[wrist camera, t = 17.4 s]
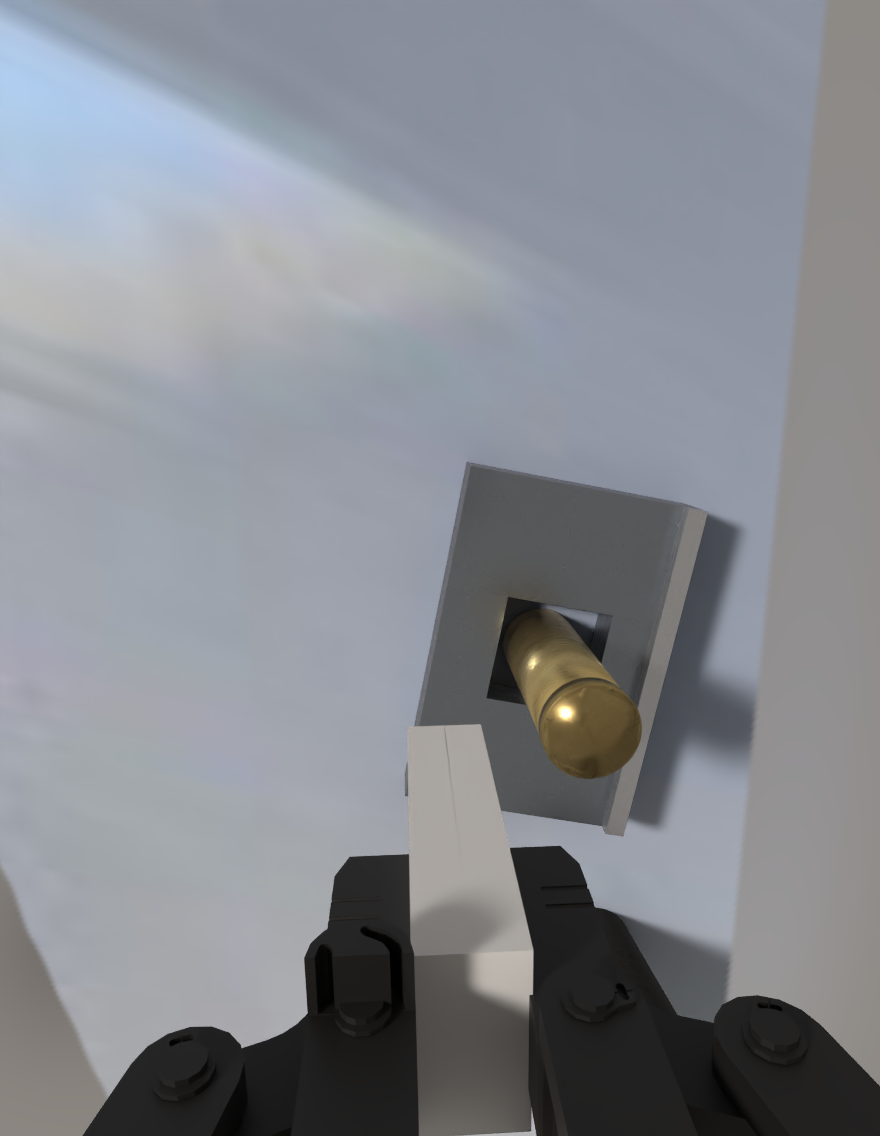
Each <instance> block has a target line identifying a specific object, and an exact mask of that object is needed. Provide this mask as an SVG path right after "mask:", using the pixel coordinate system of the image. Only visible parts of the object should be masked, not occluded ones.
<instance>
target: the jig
mask: <svg viewBox="0 0 880 1136" xmlns="http://www.w3.org/2000/svg"><path fill="white" fill-rule="evenodd" d="M707 515H708V512H706V511H703V510H701V509H698V508H695V507H692V506H689V505H687V504H683V503H678V502H673V501H667V500H662V499H657V498H652V497H647V496H641V495H636V494H631V493H626V492H620V491H615V490H610V489H605V488H600V487H594V486H589V485H584V484H579V483H574V482H568V481H563V480H558V479H553V478H547V477H542V476H537V475H532V474H527V473H521V472H516V471H511V470H506V469H500V468H495V467H490V466H485V465H480V464H474V463H469V462H467V464H466V469H465V474H464V479H463V484H462V489H461V494H460V499H459V504H458V509H457V514H456V519H455V525H454V530H453V535H452V540H451V545H450V550H449V555H448V560H447V565H446V570H445V575H444V580H443V585H442V590H441V595H440V600H439V605H438V610H437V615H436V620H435V625H434V630H433V635H432V640H431V646H430V651H429V656H428V661H427V666H426V671H425V676H424V681H423V686H422V691H421V696H420V701H419V706H418V711H417V716H416V721H415V726H444V725H473V724H481V727H482V732H483V736H484V740H485V744H486V749H487V753H488V757H489V762H490V766H491V770H492V775H493V779H494V783H495V787H496V792H497V796H498V800H499V805H500V809H501V811H507V812H514V813H520V814H527V815H533V816H540V817H546V818H553V819H559V820H566V821H573V822H579V823H586V824H592V825H599V826H602V827H603V830H604V832H605V834H610V835H617V836H624V832H625V828H626V824H627V820H628V816H629V813H630V809H631V805H632V801H633V797H634V794H635V790H636V786H637V782H638V778H639V774H640V771H641V767H642V763H643V759H644V755H645V751H646V748H647V744H648V740H649V736H650V732H651V729H652V725H653V721H654V717H655V713H656V709H657V706H658V702H659V698H660V694H661V690H662V687H663V683H664V679H665V675H666V671H667V667H668V664H669V660H670V656H671V652H672V648H673V645H674V641H675V637H676V633H677V629H678V625H679V622H680V618H681V614H682V610H683V606H684V603H685V599H686V595H687V591H688V587H689V583H690V580H691V576H692V572H693V568H694V564H695V560H696V557H697V553H698V549H699V545H700V541H701V538H702V534H703V530H704V526H705V522H706V518H707ZM508 597H512V598H518V599H523V600H529V601H535V602H540V603H546V604H551V605H557V606H563V607H568V608H574V609H580V610H585V611H591V612H597V613H599V614H598V618H597V623H596V627H595V631H594V635H593V639H592V643H591V648H590V650H591V651H592V653H593V654H594V655H595V657H596V658H597V659H598V660H599V662H600V663H601V664H602V665H603V667H604V668H605V669H606V670H607V672H608V673H609V674H610V676H611V677H612V678H613V679H614V681H615V682H616V683H617V684H618V686H619V687H620V688H621V689H622V690H623V691H624V692H625V693H626V694H627V695H628V696H629V698H630V699H631V700H632V701H633V703H634V704H635V706H636V707H637V709H638V711H639V714H640V717H641V722H642V735H641V740H640V743H639V746H638V748H637V750H636V752H635V754H634V755H633V757H632V758H631V759H630V760H629V761H628V763H626V764H625V765H624V766H623V767H622V768H620V769H619V770H618V771H616V772H614V773H612V774H610V775H607V776H604V777H601V778H594V779H583V778H577V777H573V776H571V775H568V774H566V773H564V772H563V771H561V770H560V769H558V768H557V767H556V766H555V765H554V764H553V763H552V762H551V760H550V759H549V757H548V756H547V754H546V752H545V749H544V747H543V745H542V742H541V740H540V736H539V733H538V730H537V728H536V726H535V723H534V721H533V719H532V716H531V714H530V712H529V710H528V707H527V705H526V703H525V700H524V698H523V696H522V693H521V691H520V689H519V688H515V687H509V686H503V685H497V684H491V683H490V679H491V674H492V669H493V665H494V660H495V655H496V651H497V646H498V642H499V637H500V632H501V628H502V623H503V618H504V614H505V609H506V604H507V600H508ZM415 726H414V727H415ZM405 796H408V761H407V767H406V772H405Z"/></svg>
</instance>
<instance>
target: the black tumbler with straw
mask: <svg viewBox="0 0 880 1136" xmlns="http://www.w3.org/2000/svg"><path fill="white" fill-rule="evenodd" d="M596 910H597V913H598V916H599V918H600V921H601V924H602V926H603V929H604V932H605V934H606V937H607V940H608V943H609V945H610V948H611V951H612V953H613V956H614V959H615V961H616V964H617V967H618V970H619V972H620V973H621V974H623V975H624V976H625V977H627V978H628V979H629V980H631V981H632V982H633V983H635V985H636V987H637V988H638V990H639V991H640V993H641V994H642V996H643V997H644V999H645V1001H646V1002H647V1003H648V1004H650V1005H652V1006H654V1007H656V1008H658V1009H661V1010H663V1011H665V1012H669V1013H672V1014H675V1015H677V1014H676V1012H675V1010H674V1008H673V1007H672V1005H671V1003H670V1002H669V1000H668V998H667V996H666V995H665V993H664V991H663V990H662V988H661V986H660V984H659V983H658V981H657V979H656V978H655V976H654V974H653V972H652V971H651V969H650V967H649V966H648V964H647V962H646V960H645V959H644V957H643V955H642V954H641V952H640V950H639V948H638V947H637V945H636V943H635V942H634V940H633V938H632V936H631V935H630V933H629V931H628V930H627V928H626V926H625V924H624V923H623V922H622V920H621V919H620V918H619V917H617V916H616V915H615V914H613V913H611V912H609V911H606V910H603V909H598V908H596Z"/></svg>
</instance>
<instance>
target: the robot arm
mask: <svg viewBox="0 0 880 1136" xmlns="http://www.w3.org/2000/svg"><path fill="white" fill-rule="evenodd" d="M407 749H408V812H409V854H406V855H382V856H358V857H349V859H348V860H347V861H346V863H345V864H344V865H343V866H342V868H341V869H340V870H339V872H338V873H337V874H336V875H335V878H334V886H333V893H332V903H331V908H330V915H329V922H328V929H327V930H325V931H324V932H323V933H321V934H320V935H319V936H318V937H317V938H316V939H315V940H314V941H313V942H312V943H311V944H310V946H309V949H308V951H307V953H306V955H305V958H304V961H305V977H306V992H307V1008H308V1014H307V1015H306V1016H305V1017H304V1018H303V1019H302V1020H301V1021H300V1022H299V1023H298V1024H297V1025H295V1026H294V1027H292V1028H290V1029H289V1030H287V1031H286V1032H284V1033H283V1034H280V1035H278V1036H276V1037H273V1038H271V1039H269V1040H266V1041H263V1042H260V1043H257V1044H254V1045H251V1046H248V1047H245V1048H242V1049H241V1045H240V1044H239V1043H238V1042H237V1041H236V1039H235V1038H234V1037H233V1036H232V1035H231V1034H230V1033H228V1032H225V1031H223V1030H220V1029H217V1028H214V1027H189V1028H186V1029H182V1030H179V1031H176V1032H173V1033H169V1034H167V1035H165V1036H164V1037H162V1038H161V1039H159V1040H157V1041H156V1042H154V1043H153V1044H151V1045H149V1046H148V1047H147V1048H146V1049H145V1050H144V1051H143V1052H142V1053H141V1054H140V1055H139V1056H138V1057H137V1058H136V1059H135V1061H134V1062H133V1063H132V1064H131V1065H130V1067H129V1068H128V1070H127V1071H126V1073H125V1074H124V1076H123V1077H122V1078H121V1080H120V1081H119V1083H118V1084H117V1086H116V1087H115V1089H114V1090H113V1092H112V1093H111V1095H110V1096H109V1098H108V1099H107V1101H106V1102H105V1103H104V1105H103V1106H102V1108H101V1109H100V1111H99V1112H98V1114H97V1115H96V1117H95V1118H94V1120H93V1121H92V1123H91V1124H90V1126H89V1127H88V1129H87V1130H86V1131H85V1133H84V1135H83V1136H458V1135H475V1134H493V1133H510V1132H528V1131H531V1107H532V1112H533V1118H534V1123H535V1129H536V1134H537V1136H880V1086H879V1085H878V1084H877V1083H876V1082H875V1081H874V1080H873V1079H872V1078H871V1077H870V1076H869V1075H868V1073H867V1072H866V1071H865V1070H864V1069H863V1068H862V1067H861V1066H860V1065H859V1064H858V1063H857V1062H856V1061H855V1060H854V1059H853V1058H852V1057H851V1056H850V1055H849V1054H848V1053H847V1052H846V1051H845V1050H844V1049H843V1048H842V1047H841V1046H840V1045H839V1044H838V1043H837V1042H836V1040H835V1039H834V1038H833V1037H832V1036H831V1035H830V1034H829V1033H828V1032H827V1031H826V1030H825V1029H824V1028H823V1027H822V1026H821V1025H820V1024H819V1023H818V1022H816V1021H815V1020H814V1019H812V1018H811V1017H810V1016H808V1015H807V1014H806V1013H805V1012H804V1011H802V1010H801V1009H798V1008H796V1007H794V1006H792V1005H790V1004H788V1003H785V1002H783V1001H781V1000H778V999H773V998H768V997H763V996H758V995H757V996H745V997H737V998H735V999H733V1000H731V1001H729V1002H727V1003H725V1004H723V1005H722V1006H721V1008H720V1010H719V1011H718V1013H717V1014H716V1016H715V1019H714V1023H711V1022H706V1021H701V1020H697V1019H692V1018H687V1017H682V1016H679V1015H675V1014H672V1013H669V1012H665V1011H663V1010H661V1009H658V1008H656V1007H654V1006H652V1005H650V1004H648V1003H647V1002H646V1001H645V999H644V997H643V996H642V994H641V993H640V991H639V990H638V988H637V987H636V985H635V983H633V982H632V981H631V980H629V979H628V978H627V977H625V976H624V975H623V974H621V973H620V972H619V970H618V967H617V964H616V961H615V959H614V956H613V953H612V951H611V948H610V945H609V943H608V940H607V937H606V934H605V932H604V929H603V926H602V924H601V921H600V918H599V916H598V913H597V910H596V908H595V907H594V902H593V899H592V897H591V894H590V891H589V889H587V883H586V881H585V878H584V875H583V872H582V870H581V867H580V864H579V863H578V862H577V861H576V860H575V859H574V858H573V857H572V856H571V855H569V854H568V853H567V852H566V851H565V850H564V849H563V848H562V847H561V846H545V847H521V848H509V843H508V839H507V835H506V830H505V826H504V822H503V817H502V813H501V809H500V805H499V800H498V796H497V792H496V787H495V783H494V779H493V775H492V770H491V766H490V762H489V757H488V753H487V749H486V744H485V740H484V736H483V732H482V727H481V724H473V725H444V726H415V727H407Z"/></svg>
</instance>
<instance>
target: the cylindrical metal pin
mask: <svg viewBox="0 0 880 1136" xmlns="http://www.w3.org/2000/svg"><path fill="white" fill-rule="evenodd" d="M503 649H504V654H505V657H506V659H507V661H508V664H509V666H510V668H511V670H512V673H513V675H514V677H515V680H516V682H517V684H518V687H519V689H520V691H521V693H522V696H523V698H524V700H525V703H526V705H527V707H528V710H529V712H530V714H531V716H532V719H533V721H534V723H535V726H536V728H537V730H538V733H539V736H540V740H541V742H542V745H543V747H544V749H545V752H546V754H547V756H548V757H549V759H550V760H551V762H552V763H553V764H554V765H555V766H556V767H557V768H558V769H560V770H561V771H563V772H564V773H566V774H568V775H571V776H573V777H577V778H583V779H594V778H601V777H604V776H607V775H610V774H612V773H614V772H616V771H618V770H619V769H620V768H622V767H623V766H624V765H625V764H626V763H628V761H629V760H630V759H631V758H632V757H633V755H634V754H635V752H636V750H637V748H638V746H639V743H640V740H641V735H642V722H641V717H640V714H639V711H638V709H637V707H636V706H635V704H634V703H633V701H632V700H631V699H630V698H629V696H628V695H627V694H626V693H625V692H624V691H623V690H622V689H621V688H620V687H619V686H618V684H617V683H616V682H615V681H614V679H613V678H612V677H611V676H610V674H609V673H608V672H607V670H606V669H605V668H604V667H603V665H602V664H601V663H600V662H599V660H598V659H597V658H596V657H595V655H594V654H593V653H592V651H591V650H590V649H589V648H588V646H587V645H586V644H585V643H584V641H583V640H582V639H581V638H580V636H579V635H578V634H577V632H576V631H575V630H574V629H573V627H572V626H571V625H570V624H569V622H568V621H567V620H566V619H565V618H564V617H563V616H562V615H560V614H559V613H557V612H555V611H552V610H549V609H532V610H528V611H526V612H524V613H522V614H520V615H519V616H517V617H516V618H515V619H514V620H513V621H512V622H511V623H510V625H509V626H508V628H507V630H506V632H505V635H504V640H503Z"/></svg>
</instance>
